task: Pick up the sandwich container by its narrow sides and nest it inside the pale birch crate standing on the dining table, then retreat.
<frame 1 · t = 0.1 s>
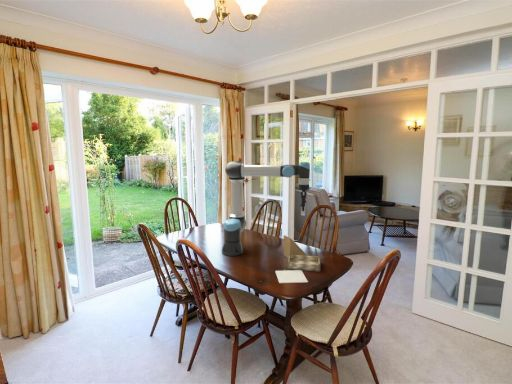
hand: (303, 213, 210), 28 cm above the table, fingers open, 13 cm apart
crate: (303, 265, 186), on the table
sandwich container: (295, 256, 204), on the table
linen napkin: (290, 277, 170), on the table
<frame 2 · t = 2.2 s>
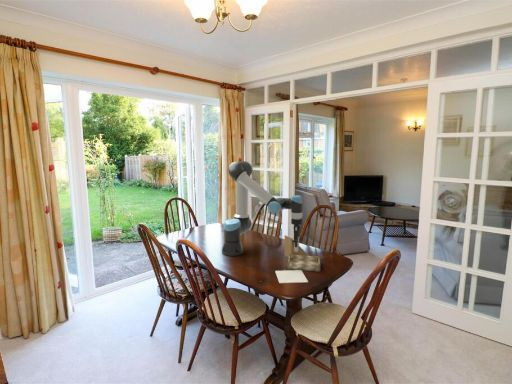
hand: (296, 248, 203), 5 cm above the table, fingers open, 13 cm apart
sandwich container: (296, 256, 204), on the table, touching gripper
everything else where it was.
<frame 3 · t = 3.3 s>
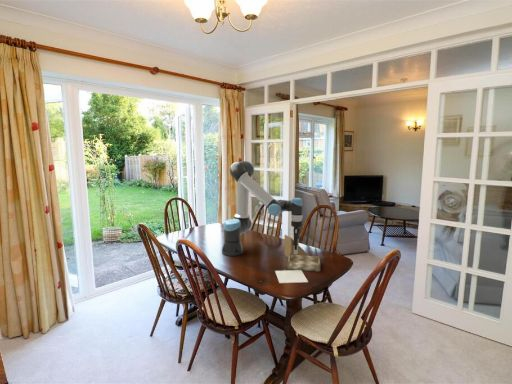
hand: (296, 250, 203), 4 cm above the table, fingers closed on sandwich container, 12 cm apart
sandwich container: (296, 255, 204), on the table, touching gripper
everything else where it was.
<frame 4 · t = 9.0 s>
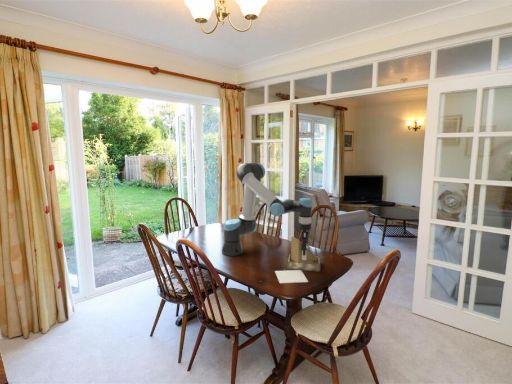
hand: (304, 256, 185), 6 cm above the table, fingers closed on sandwich container, 12 cm apart
sandwich container: (304, 259, 186), point 4 cm above the table, touching crate, gripper
everything else where it was.
when the fingers open (6 cm above the table, at t = 9.8 s): sandwich container stays where it is, resting on crate.
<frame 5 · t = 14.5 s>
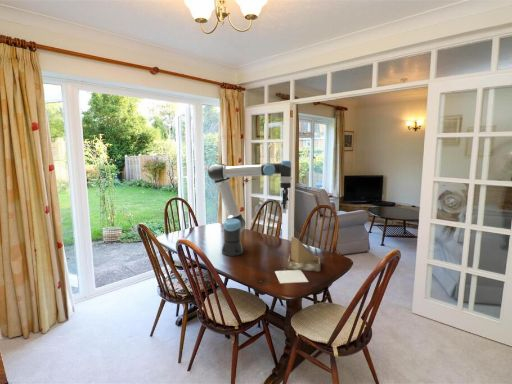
hand: (285, 211, 213), 29 cm above the table, fingers open, 13 cm apart
sandwich container: (304, 259, 186), point 4 cm above the table, touching crate
everything else where it was.
at the end: sandwich container 0.8 cm from the crate (horizontally); sandwich container touching crate; sandwich container tilted 0° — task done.
